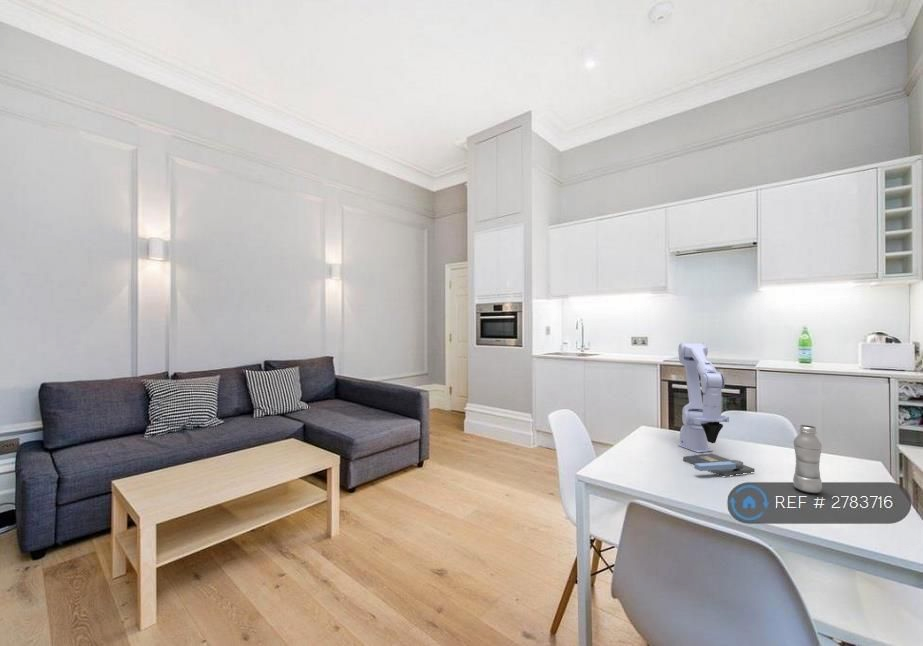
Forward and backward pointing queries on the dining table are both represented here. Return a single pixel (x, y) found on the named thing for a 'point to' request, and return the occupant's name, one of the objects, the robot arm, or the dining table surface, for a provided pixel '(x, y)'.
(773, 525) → the dining table surface
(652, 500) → the dining table surface
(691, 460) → the chassis
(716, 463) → the cable arm
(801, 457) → the plastic bottle
